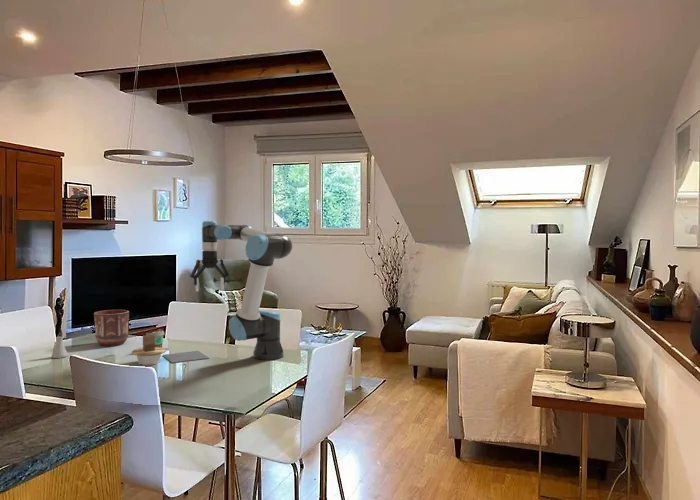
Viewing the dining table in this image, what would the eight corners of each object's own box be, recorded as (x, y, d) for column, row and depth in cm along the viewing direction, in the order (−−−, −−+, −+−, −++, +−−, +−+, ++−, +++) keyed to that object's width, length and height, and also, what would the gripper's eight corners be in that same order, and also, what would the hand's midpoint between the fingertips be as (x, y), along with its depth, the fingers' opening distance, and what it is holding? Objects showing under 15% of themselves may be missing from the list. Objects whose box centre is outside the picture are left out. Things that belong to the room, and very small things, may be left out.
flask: (71, 356, 272) (71, 336, 271) (58, 359, 265) (57, 339, 265) (61, 354, 275) (61, 335, 274) (48, 357, 268) (47, 337, 268)
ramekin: (153, 359, 267) (153, 348, 267) (166, 363, 260) (166, 352, 260) (132, 363, 258) (131, 352, 258) (144, 367, 251) (144, 356, 251)
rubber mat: (209, 358, 268) (209, 357, 268) (172, 363, 258) (172, 362, 258) (197, 351, 283) (197, 350, 283) (162, 355, 273) (162, 354, 273)
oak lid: (168, 353, 257) (168, 336, 256) (135, 357, 249) (135, 340, 248) (161, 347, 269) (161, 331, 269) (129, 351, 261) (129, 334, 261)
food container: (156, 352, 280) (156, 333, 280) (145, 352, 281) (145, 333, 281) (168, 347, 292) (168, 329, 292) (158, 347, 293) (158, 328, 293)
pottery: (118, 339, 313) (117, 308, 312) (135, 343, 303) (135, 311, 302) (88, 344, 298) (87, 312, 298) (105, 349, 288) (104, 315, 287)
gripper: (229, 249, 295) (229, 288, 296) (183, 250, 282) (184, 291, 283) (234, 250, 289) (234, 289, 290) (188, 251, 276) (188, 292, 276)
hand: (209, 290), depth 286 cm, fingers open, 13 cm apart
